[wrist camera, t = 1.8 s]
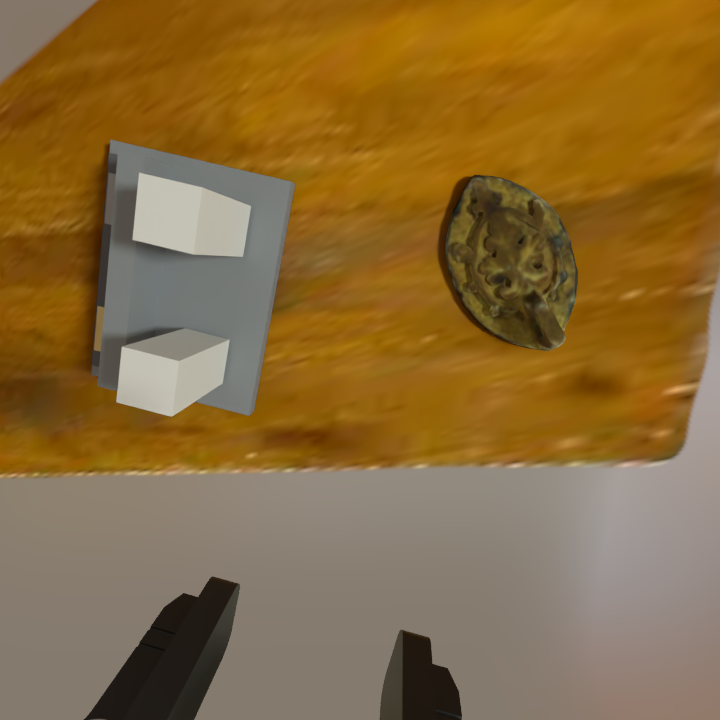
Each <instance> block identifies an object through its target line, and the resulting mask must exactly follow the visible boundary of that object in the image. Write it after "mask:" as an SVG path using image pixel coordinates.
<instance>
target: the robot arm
mask: <svg viewBox="0 0 720 720" xmlns="http://www.w3.org/2000/svg"><path fill="white" fill-rule="evenodd" d="M239 590H240V584H238V583H234V582H230V581H227V580H223V579H220V578H216V577H211V578H210V579H209V581H208V582H207V584H206V585H205V587H204V589H203V590H202V592H201V594H200V595H199V597H195V596H192V595H188V594H185V593H183V594H182V595H180V596H179V597H178V598H176V599H175V600H174V601H172V602H171V603H170V604H168V605H167V606H165V607H164V608H163V610H162V611H161V613H160V614H159V615H158V617H157V618H156V620H155V621H154V623H153V624H152V626H151V628H150V630H148V631H147V633H146V634H145V636H144V637H143V638H142V640H141V641H140V644H139V645H138V647H136V648H135V650H134V651H133V653H132V654H131V656H130V657H129V658H128V660H127V661H126V663H125V664H124V666H123V667H122V668H121V670H120V671H119V673H118V674H117V675H116V677H115V678H114V680H113V681H112V683H111V684H110V685H109V687H108V688H107V690H106V691H105V693H104V694H103V696H102V697H101V698H100V700H99V701H98V703H97V704H96V705H95V707H94V708H93V710H92V711H91V712H90V713H89V715H88V716H87V717H86V718H85V719H84V720H194V719H195V717H196V714H197V712H198V710H199V708H200V706H201V703H202V701H203V699H204V697H205V695H206V693H207V690H208V688H209V686H210V684H211V682H212V680H213V677H214V675H215V673H216V671H217V669H218V667H219V665H220V662H221V660H222V658H223V655H224V653H225V650H226V648H227V645H228V642H229V638H230V635H231V631H232V626H233V620H234V616H235V610H236V605H237V600H238V595H239ZM461 718H462V713H461V705H460V698H459V691H458V689H457V687H456V685H455V683H454V681H453V678H452V677H451V674H450V672H449V670H448V668H445V667H441V666H437V665H434V664H432V653H431V642H430V638H429V637H425V636H422V635H418V634H414V633H411V632H407V631H404V630H400V632H399V634H398V637H397V640H396V644H395V647H394V650H393V653H392V656H391V660H390V663H389V666H388V669H387V672H386V676H385V680H384V684H383V690H382V697H381V708H380V720H461Z"/></svg>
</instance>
